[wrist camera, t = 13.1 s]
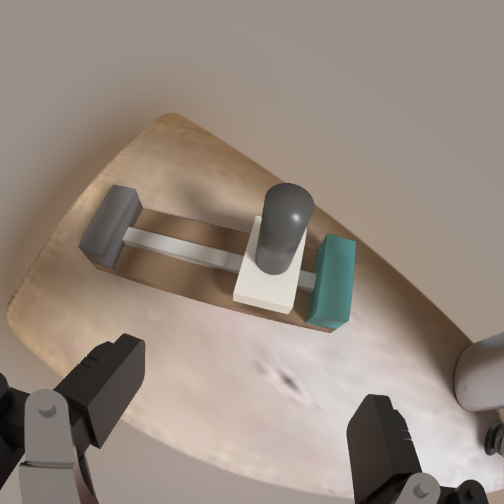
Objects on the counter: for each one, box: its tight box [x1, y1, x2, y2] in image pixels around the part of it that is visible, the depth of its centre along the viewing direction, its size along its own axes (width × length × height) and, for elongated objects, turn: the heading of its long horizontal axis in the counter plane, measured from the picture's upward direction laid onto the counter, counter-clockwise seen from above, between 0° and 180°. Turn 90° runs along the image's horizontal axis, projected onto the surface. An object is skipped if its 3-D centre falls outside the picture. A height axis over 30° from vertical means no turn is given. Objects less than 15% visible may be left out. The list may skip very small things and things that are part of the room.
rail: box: [78, 185, 356, 333], centre depth 27 cm, size 26×8×5 cm, turn 76°
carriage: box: [233, 183, 314, 314], centre depth 22 cm, size 5×8×10 cm, turn 166°
